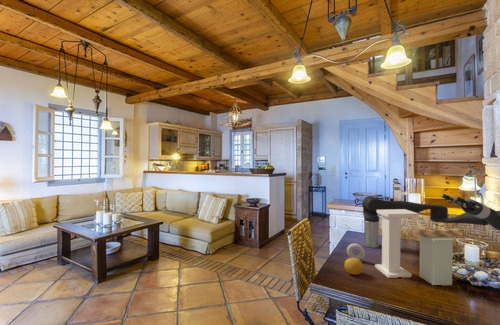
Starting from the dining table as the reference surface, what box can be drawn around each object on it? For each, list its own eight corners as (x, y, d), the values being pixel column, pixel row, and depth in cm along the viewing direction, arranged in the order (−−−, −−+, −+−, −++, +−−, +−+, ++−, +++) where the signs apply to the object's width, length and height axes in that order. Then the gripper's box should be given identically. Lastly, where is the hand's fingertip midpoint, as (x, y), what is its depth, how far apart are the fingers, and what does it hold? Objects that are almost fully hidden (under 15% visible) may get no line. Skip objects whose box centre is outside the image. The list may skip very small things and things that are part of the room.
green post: (436, 275, 125) (437, 232, 124) (454, 285, 115) (454, 239, 114) (417, 275, 124) (418, 233, 124) (433, 286, 114) (434, 239, 114)
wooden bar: (457, 234, 121) (457, 228, 121) (462, 236, 118) (462, 230, 118) (410, 235, 120) (410, 229, 119) (414, 237, 117) (414, 231, 117)
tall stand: (403, 266, 135) (403, 208, 134) (419, 276, 123) (420, 213, 122) (375, 267, 134) (375, 209, 133) (388, 277, 122) (389, 214, 121)
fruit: (344, 275, 125) (344, 260, 125) (344, 268, 132) (344, 254, 132) (363, 278, 122) (363, 262, 122) (362, 271, 129) (362, 256, 129)
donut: (346, 259, 144) (346, 243, 144) (347, 257, 147) (347, 241, 147) (365, 263, 139) (365, 245, 139) (365, 260, 142) (365, 243, 142)
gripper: (466, 199, 137) (441, 188, 136) (492, 205, 123) (465, 192, 121) (460, 212, 137) (435, 200, 136) (486, 219, 123) (459, 206, 122)
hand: (449, 197), depth 129 cm, fingers open, 8 cm apart
